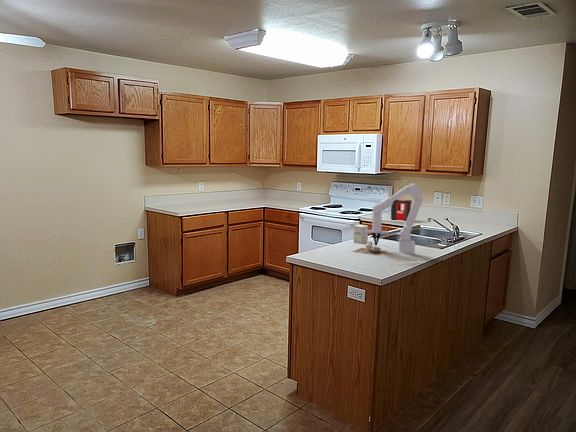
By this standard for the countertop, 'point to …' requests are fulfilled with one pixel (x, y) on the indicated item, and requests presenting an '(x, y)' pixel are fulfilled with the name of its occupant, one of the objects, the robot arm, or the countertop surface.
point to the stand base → (369, 252)
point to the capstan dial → (372, 248)
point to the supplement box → (360, 234)
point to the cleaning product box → (401, 209)
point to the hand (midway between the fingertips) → (376, 245)
